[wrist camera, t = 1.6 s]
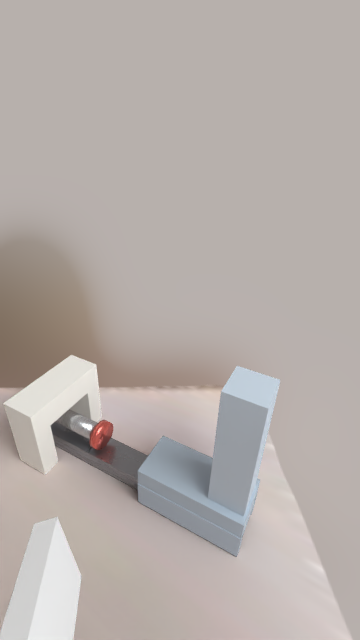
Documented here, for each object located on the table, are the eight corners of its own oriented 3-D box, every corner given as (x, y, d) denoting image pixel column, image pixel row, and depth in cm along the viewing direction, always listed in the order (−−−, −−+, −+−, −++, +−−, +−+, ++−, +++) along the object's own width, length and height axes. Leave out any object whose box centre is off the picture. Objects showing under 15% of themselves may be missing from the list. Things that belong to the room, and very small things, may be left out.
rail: (43, 439, 42) (40, 428, 41) (61, 423, 45) (59, 412, 44) (221, 535, 33) (223, 524, 32) (231, 509, 35) (233, 497, 34)
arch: (20, 459, 40) (3, 403, 35) (79, 406, 47) (71, 354, 43) (45, 474, 38) (30, 417, 34) (102, 417, 46) (96, 364, 41)
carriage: (138, 501, 36) (132, 366, 27) (162, 464, 40) (164, 336, 31) (236, 556, 31) (268, 418, 22) (253, 508, 35) (286, 374, 27)
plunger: (39, 426, 41) (34, 406, 40) (59, 409, 44) (55, 390, 42) (96, 456, 38) (93, 436, 36) (114, 436, 40) (112, 416, 39)
